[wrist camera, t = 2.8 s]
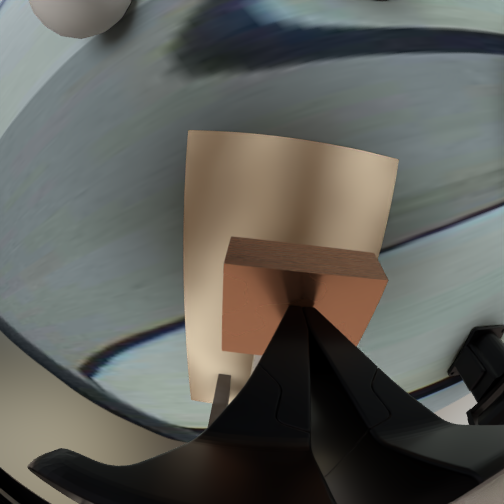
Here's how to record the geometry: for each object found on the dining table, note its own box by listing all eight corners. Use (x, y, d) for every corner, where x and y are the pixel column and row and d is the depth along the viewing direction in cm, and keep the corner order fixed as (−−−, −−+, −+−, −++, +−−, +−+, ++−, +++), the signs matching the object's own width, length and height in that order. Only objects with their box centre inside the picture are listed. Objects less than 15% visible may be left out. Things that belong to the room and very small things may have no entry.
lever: (369, 244, 10) (390, 284, 7) (288, 426, 18) (288, 452, 16) (233, 228, 10) (222, 267, 8) (225, 421, 18) (221, 447, 16)
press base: (388, 157, 15) (460, 173, 8) (318, 399, 23) (326, 464, 16) (195, 131, 15) (141, 124, 8) (194, 388, 23) (177, 452, 17)
